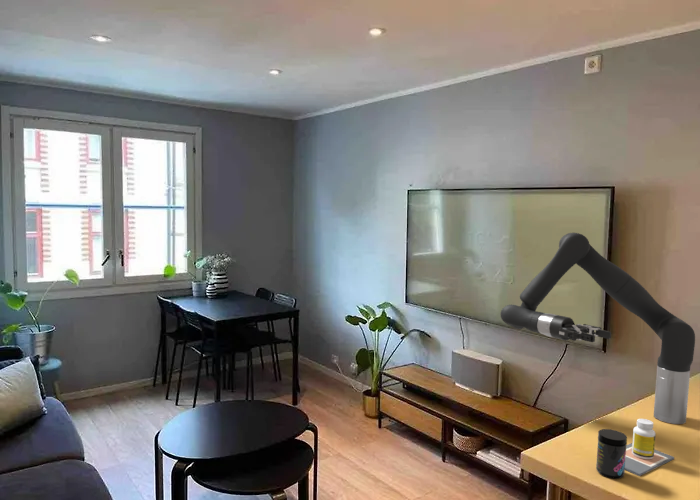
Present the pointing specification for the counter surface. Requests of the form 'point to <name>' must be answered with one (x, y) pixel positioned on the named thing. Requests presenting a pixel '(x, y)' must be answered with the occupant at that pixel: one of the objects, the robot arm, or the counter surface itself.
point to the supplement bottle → (643, 439)
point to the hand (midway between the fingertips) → (602, 337)
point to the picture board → (644, 461)
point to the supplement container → (611, 453)
